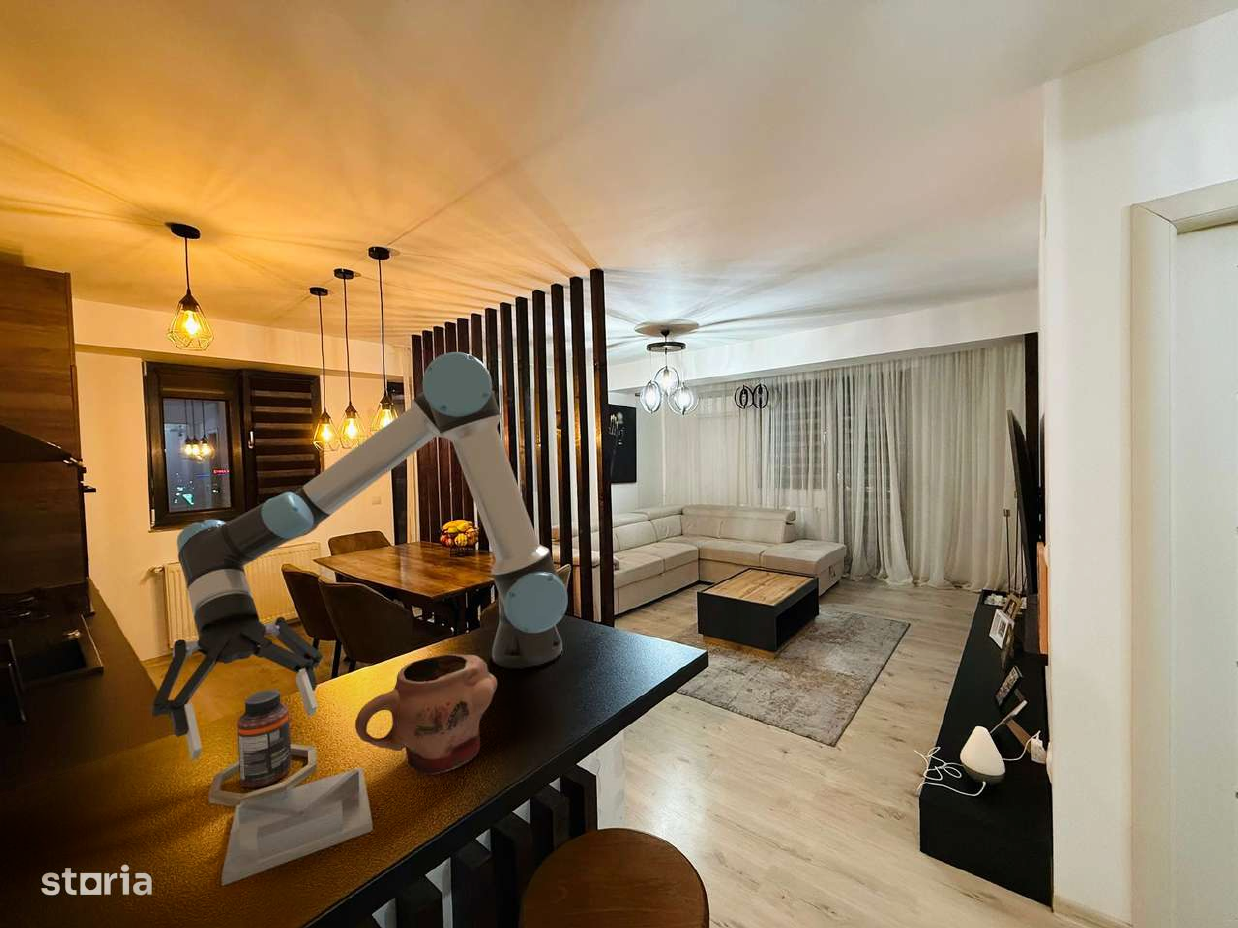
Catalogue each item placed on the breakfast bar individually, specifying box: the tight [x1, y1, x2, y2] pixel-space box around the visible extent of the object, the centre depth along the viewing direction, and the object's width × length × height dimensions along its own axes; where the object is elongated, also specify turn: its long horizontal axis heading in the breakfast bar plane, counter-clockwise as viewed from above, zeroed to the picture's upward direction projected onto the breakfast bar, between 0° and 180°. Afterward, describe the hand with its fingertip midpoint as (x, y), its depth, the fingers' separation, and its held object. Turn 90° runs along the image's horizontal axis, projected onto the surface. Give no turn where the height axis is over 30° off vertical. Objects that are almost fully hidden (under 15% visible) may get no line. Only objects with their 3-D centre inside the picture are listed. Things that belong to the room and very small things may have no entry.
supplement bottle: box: [236, 689, 292, 789], centre depth 71 cm, size 6×6×11 cm
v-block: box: [221, 766, 374, 887], centre depth 62 cm, size 13×14×4 cm
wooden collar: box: [208, 743, 318, 808], centre depth 71 cm, size 12×12×1 cm
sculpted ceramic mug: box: [354, 653, 498, 775], centre depth 73 cm, size 20×12×14 cm, turn 138°
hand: (259, 731), depth 71 cm, fingers open, 13 cm apart
